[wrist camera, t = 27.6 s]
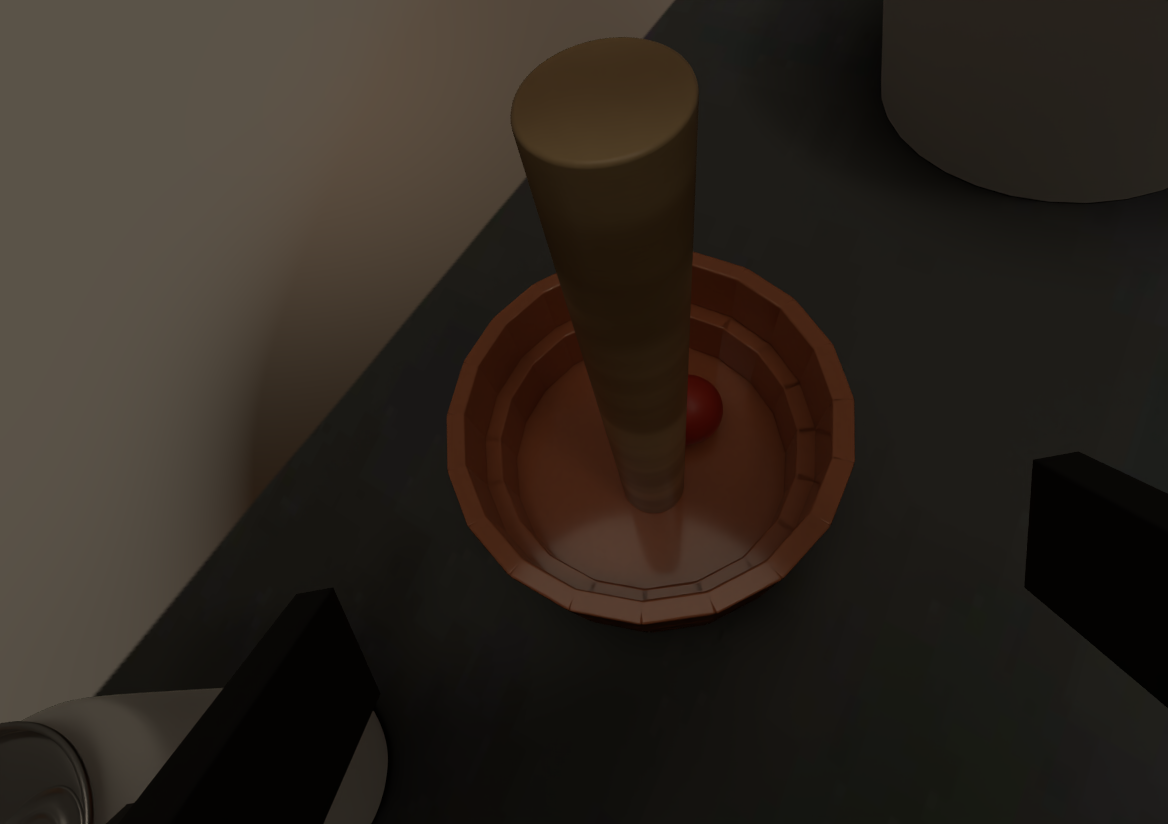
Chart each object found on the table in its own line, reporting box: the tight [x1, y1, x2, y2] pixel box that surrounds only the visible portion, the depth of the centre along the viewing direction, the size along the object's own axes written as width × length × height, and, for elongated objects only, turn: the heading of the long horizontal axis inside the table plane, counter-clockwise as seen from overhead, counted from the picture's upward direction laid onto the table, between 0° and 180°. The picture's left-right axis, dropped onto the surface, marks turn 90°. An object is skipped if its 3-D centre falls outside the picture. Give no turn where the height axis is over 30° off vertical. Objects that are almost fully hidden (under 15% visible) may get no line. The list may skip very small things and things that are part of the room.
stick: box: [511, 37, 699, 513], centre depth 15 cm, size 3×3×18 cm
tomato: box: [685, 374, 723, 445], centre depth 23 cm, size 3×3×3 cm
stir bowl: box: [447, 252, 855, 633], centre depth 22 cm, size 14×14×6 cm
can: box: [0, 688, 388, 824], centre depth 16 cm, size 6×6×12 cm
